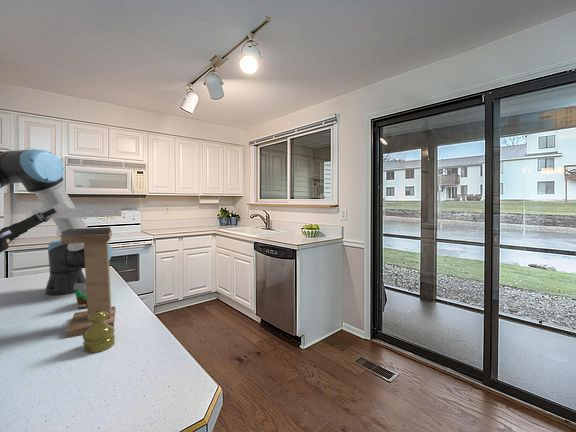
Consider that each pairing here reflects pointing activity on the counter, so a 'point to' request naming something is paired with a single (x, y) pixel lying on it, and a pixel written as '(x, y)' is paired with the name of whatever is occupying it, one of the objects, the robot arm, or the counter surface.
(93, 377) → the counter surface
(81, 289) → the food container
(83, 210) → the steel bar
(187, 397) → the counter surface
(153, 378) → the counter surface
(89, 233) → the walnut shelf
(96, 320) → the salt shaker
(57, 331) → the counter surface
